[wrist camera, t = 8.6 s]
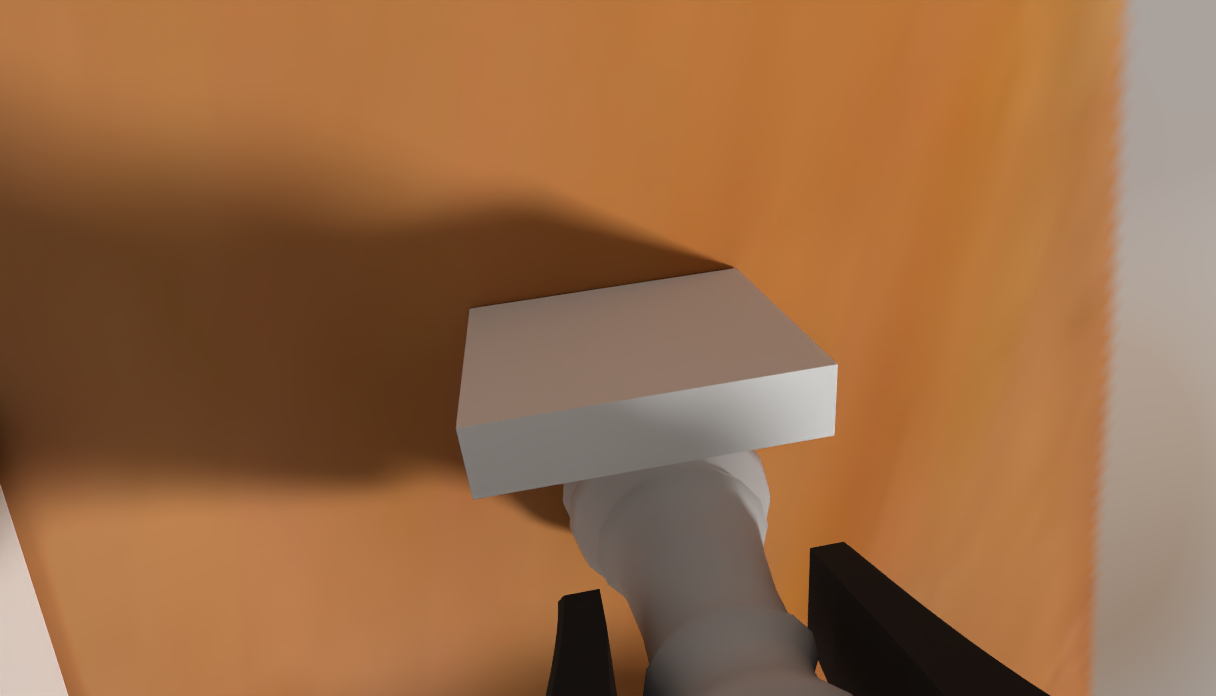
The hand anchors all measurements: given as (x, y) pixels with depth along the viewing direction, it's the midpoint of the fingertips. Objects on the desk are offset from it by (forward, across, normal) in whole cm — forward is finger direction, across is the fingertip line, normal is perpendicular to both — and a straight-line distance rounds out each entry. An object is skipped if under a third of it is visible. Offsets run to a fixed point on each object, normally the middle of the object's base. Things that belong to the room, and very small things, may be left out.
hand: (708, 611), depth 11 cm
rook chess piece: (+4, 0, 0) cm, 4 cm away
